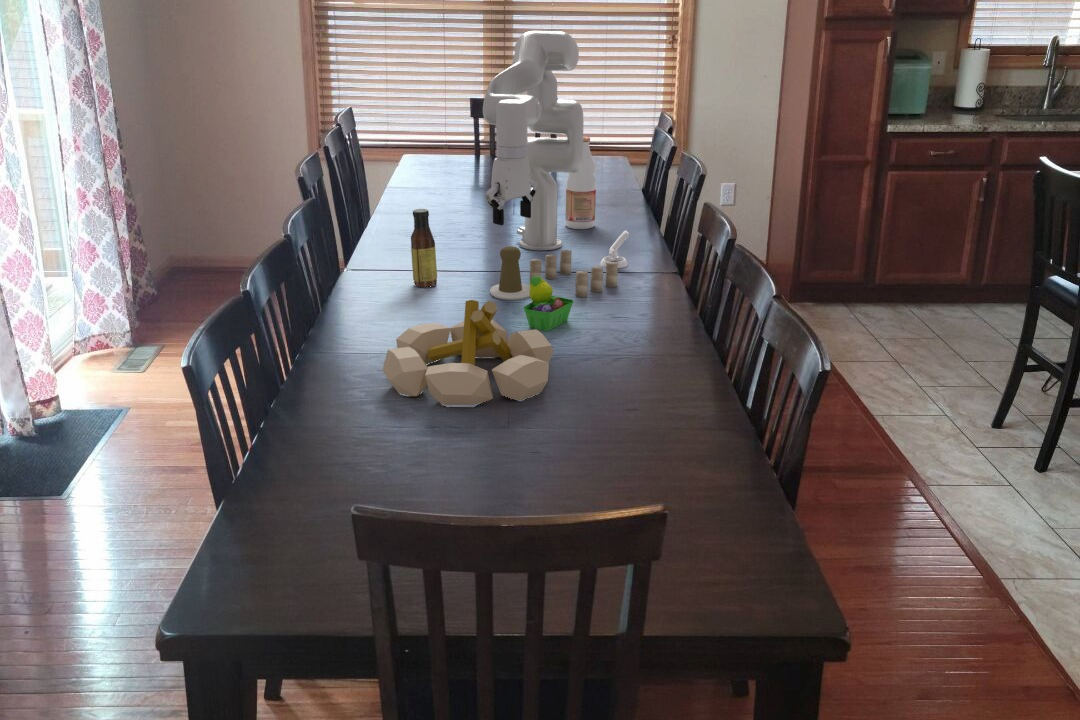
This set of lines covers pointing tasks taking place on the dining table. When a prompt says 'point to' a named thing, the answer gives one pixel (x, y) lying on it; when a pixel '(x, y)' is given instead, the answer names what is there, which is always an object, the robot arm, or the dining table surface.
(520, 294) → the white round plate
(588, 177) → the fruit juice
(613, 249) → the white plastic lever piece
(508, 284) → the cork
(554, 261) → the posts
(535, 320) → the fruit basket
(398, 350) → the campfire
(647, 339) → the dining table surface
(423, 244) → the sauce bottle
